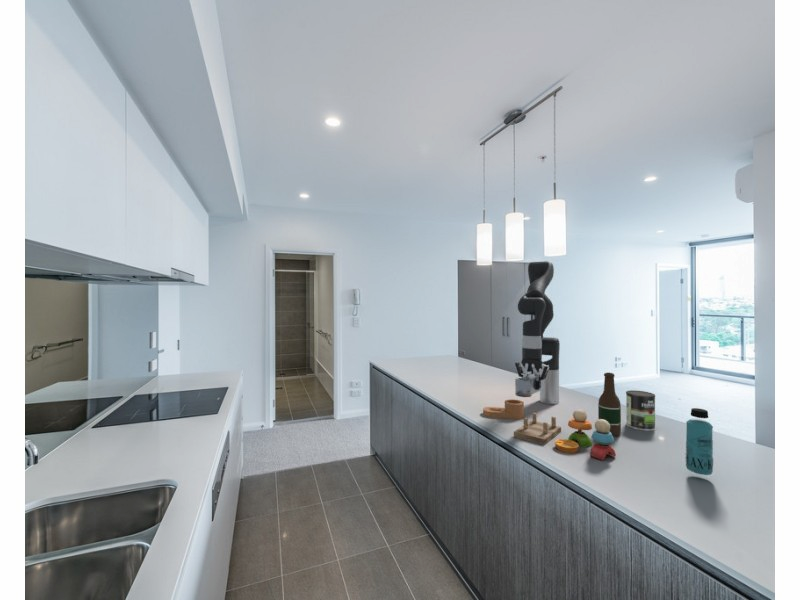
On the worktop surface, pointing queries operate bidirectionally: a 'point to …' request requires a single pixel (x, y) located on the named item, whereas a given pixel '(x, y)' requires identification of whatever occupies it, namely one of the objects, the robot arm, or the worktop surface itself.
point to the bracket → (506, 410)
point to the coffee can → (640, 410)
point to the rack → (538, 430)
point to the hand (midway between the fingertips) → (532, 388)
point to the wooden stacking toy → (599, 436)
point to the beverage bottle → (699, 443)
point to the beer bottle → (610, 405)
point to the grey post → (527, 386)
